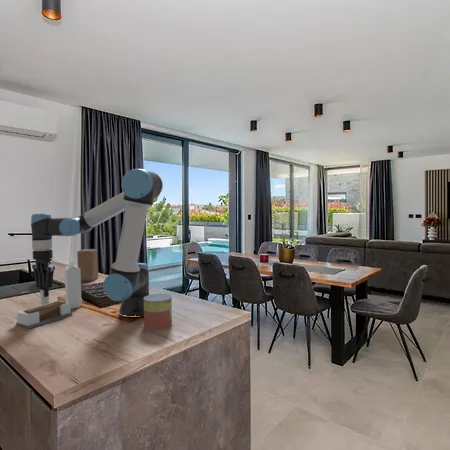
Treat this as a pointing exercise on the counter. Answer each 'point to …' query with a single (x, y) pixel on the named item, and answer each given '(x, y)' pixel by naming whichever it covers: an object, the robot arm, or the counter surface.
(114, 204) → the robot arm
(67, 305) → the endcap rail
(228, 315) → the counter surface
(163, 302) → the canned food
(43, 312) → the slat
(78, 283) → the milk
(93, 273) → the wooden block
